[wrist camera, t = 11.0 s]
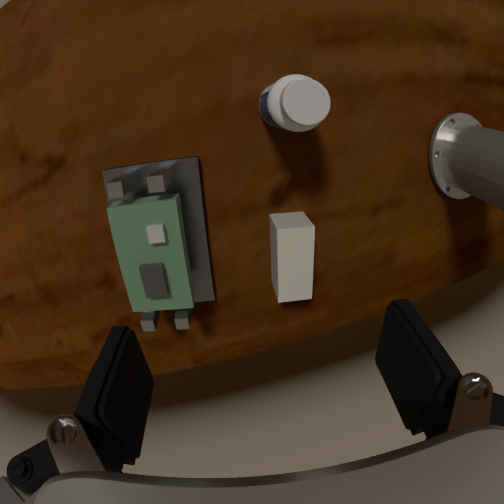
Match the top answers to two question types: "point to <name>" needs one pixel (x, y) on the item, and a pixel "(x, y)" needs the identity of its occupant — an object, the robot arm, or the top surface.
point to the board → (152, 252)
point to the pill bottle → (294, 103)
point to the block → (292, 256)
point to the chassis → (189, 188)
